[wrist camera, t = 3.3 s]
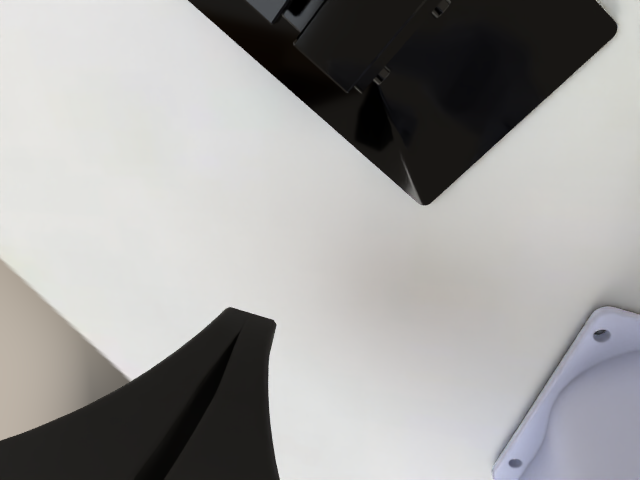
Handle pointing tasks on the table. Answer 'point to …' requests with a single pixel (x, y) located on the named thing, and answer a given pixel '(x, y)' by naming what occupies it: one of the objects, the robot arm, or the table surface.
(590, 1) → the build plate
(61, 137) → the table surface
